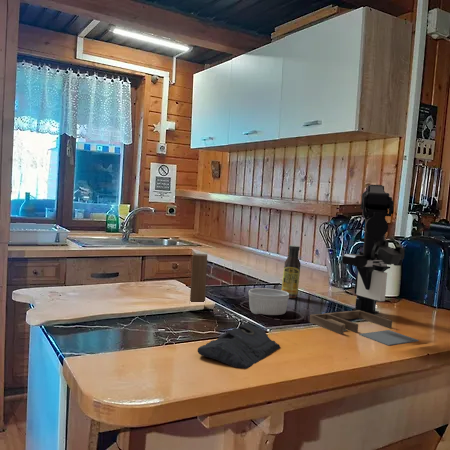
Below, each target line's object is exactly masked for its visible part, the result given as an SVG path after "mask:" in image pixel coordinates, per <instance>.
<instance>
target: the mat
mask: <svg viewBox="0 0 450 450" xmlns="http://www.w3.org/2000/svg"><path fill="white" fill-rule="evenodd" d="M358 335H359V336H361V337H364V338H367V339H369V340H371V341H374V342H377V343H379V344H382V345H386V346H388V347H389V346H396V345H402V344H409V343H415V342H419V341H420V340H419V339H417V338H413V337H410V336H407V335H404V334H402V333H399V332H396V331H394V330H391V329H386V330H378V331H372V332H370V331H369V332H362V333H359V334H358Z"/></svg>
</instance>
